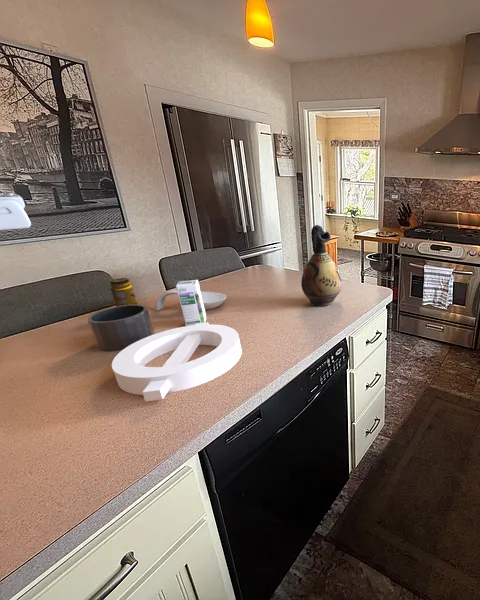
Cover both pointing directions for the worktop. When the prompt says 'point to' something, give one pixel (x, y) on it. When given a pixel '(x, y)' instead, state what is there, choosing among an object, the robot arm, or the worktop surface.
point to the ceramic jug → (320, 272)
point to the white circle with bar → (176, 360)
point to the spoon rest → (208, 298)
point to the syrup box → (191, 302)
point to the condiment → (122, 292)
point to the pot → (120, 326)
